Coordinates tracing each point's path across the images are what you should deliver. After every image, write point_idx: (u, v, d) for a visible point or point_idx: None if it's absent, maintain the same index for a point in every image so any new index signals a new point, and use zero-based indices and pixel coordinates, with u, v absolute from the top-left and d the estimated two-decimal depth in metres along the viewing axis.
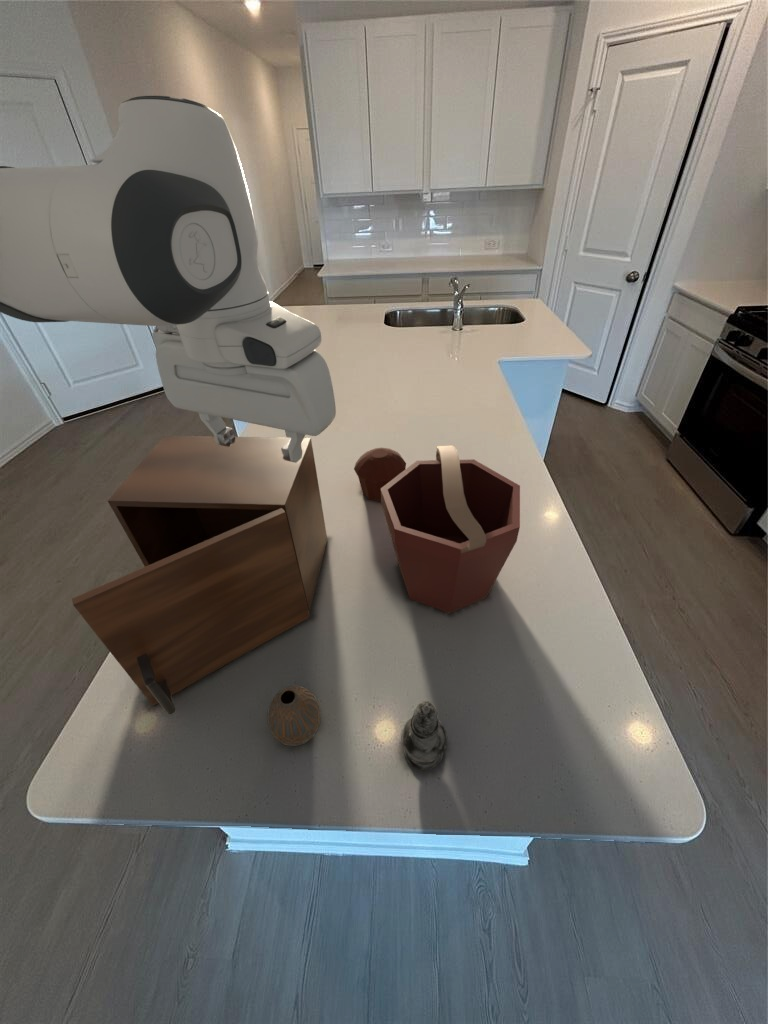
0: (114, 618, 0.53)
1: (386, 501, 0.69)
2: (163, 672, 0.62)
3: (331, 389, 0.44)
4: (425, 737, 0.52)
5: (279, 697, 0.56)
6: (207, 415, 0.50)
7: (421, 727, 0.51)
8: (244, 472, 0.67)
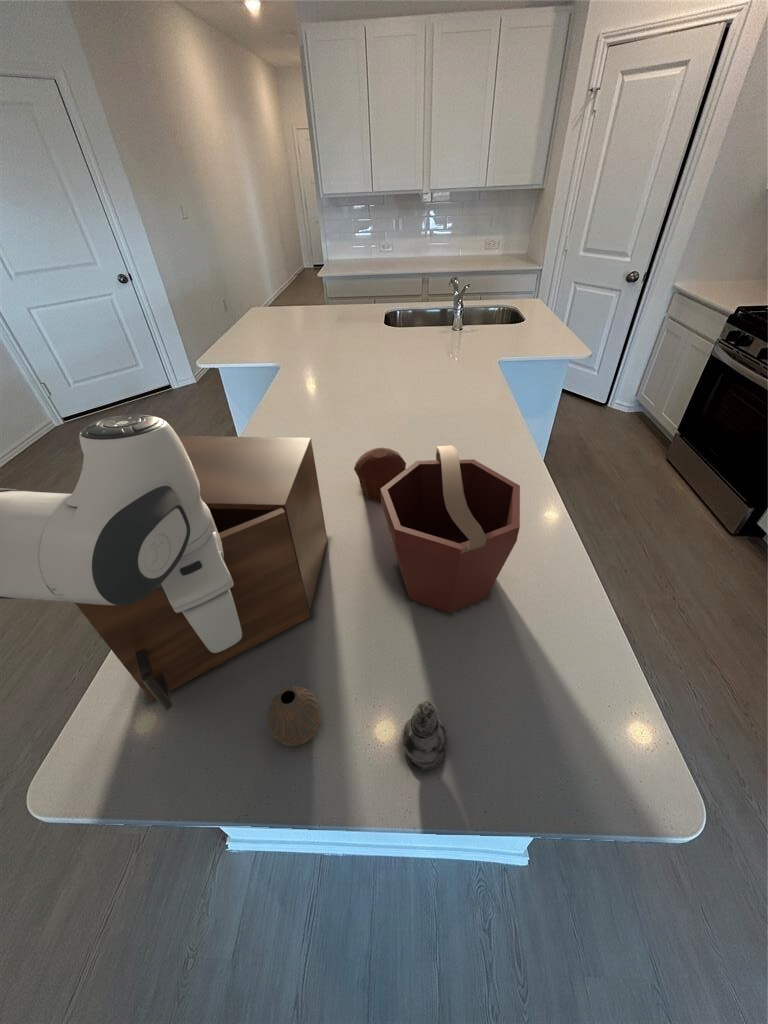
0: (112, 613, 0.53)
1: (386, 501, 0.69)
2: (162, 668, 0.62)
3: (235, 623, 0.49)
4: (425, 737, 0.52)
5: (279, 697, 0.56)
6: None
7: (421, 727, 0.51)
8: (244, 472, 0.67)
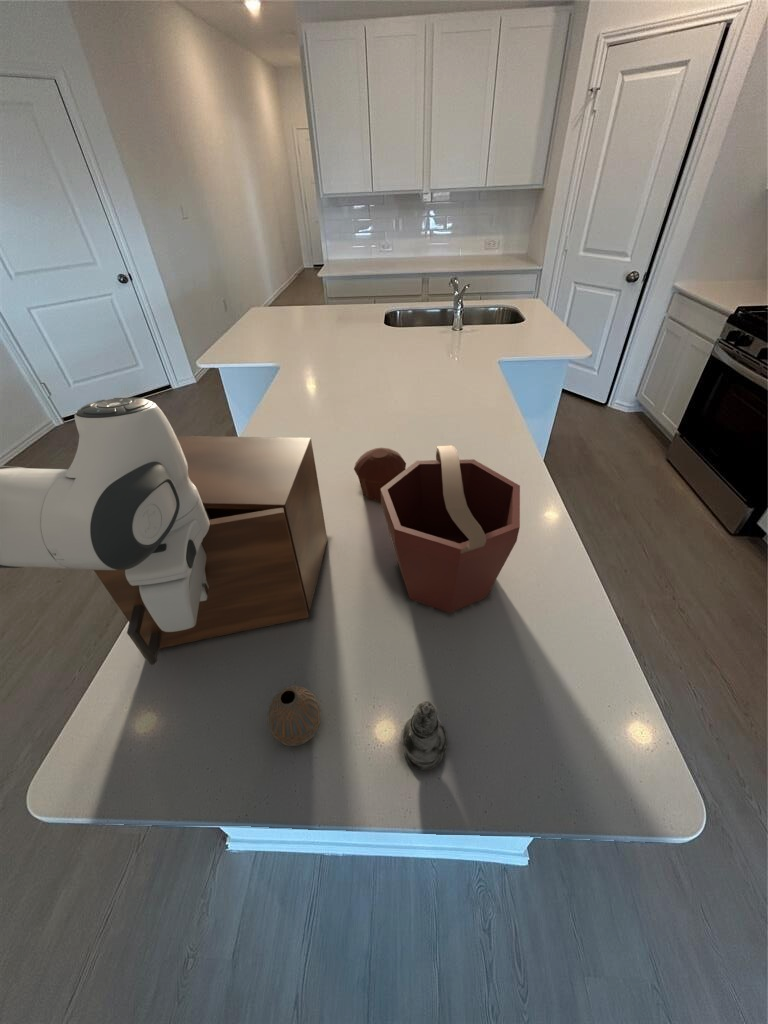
0: None
1: (386, 501, 0.69)
2: None
3: (184, 611, 0.50)
4: (425, 737, 0.52)
5: (279, 697, 0.56)
6: None
7: (421, 727, 0.51)
8: (244, 472, 0.67)
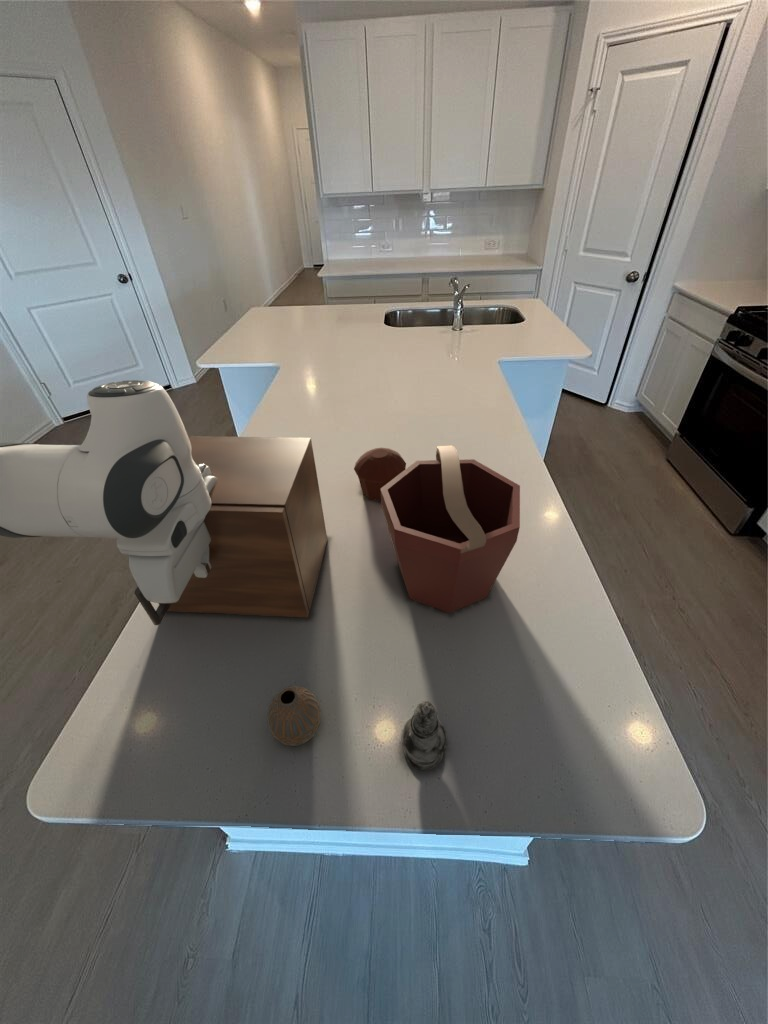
0: None
1: (386, 501, 0.69)
2: None
3: (165, 586, 0.53)
4: (425, 737, 0.52)
5: (279, 697, 0.56)
6: None
7: (421, 727, 0.51)
8: (244, 472, 0.67)
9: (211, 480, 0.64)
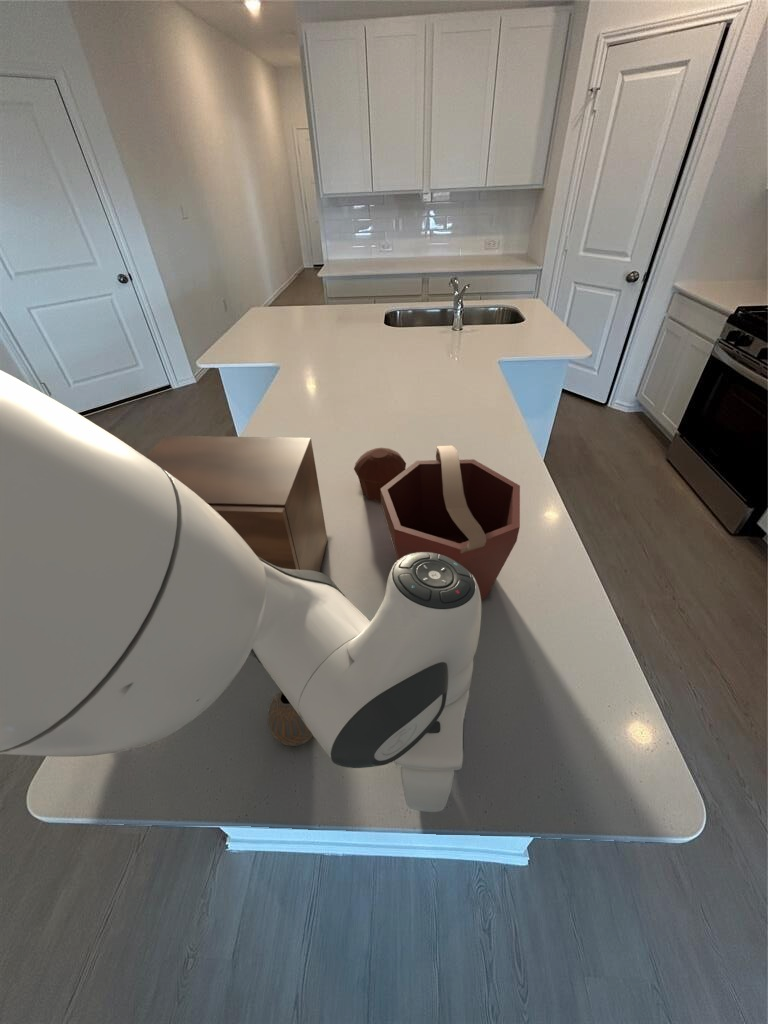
0: None
1: (386, 501, 0.69)
2: None
3: (443, 800, 0.42)
4: None
5: (279, 697, 0.56)
6: None
7: None
8: (244, 472, 0.67)
9: None
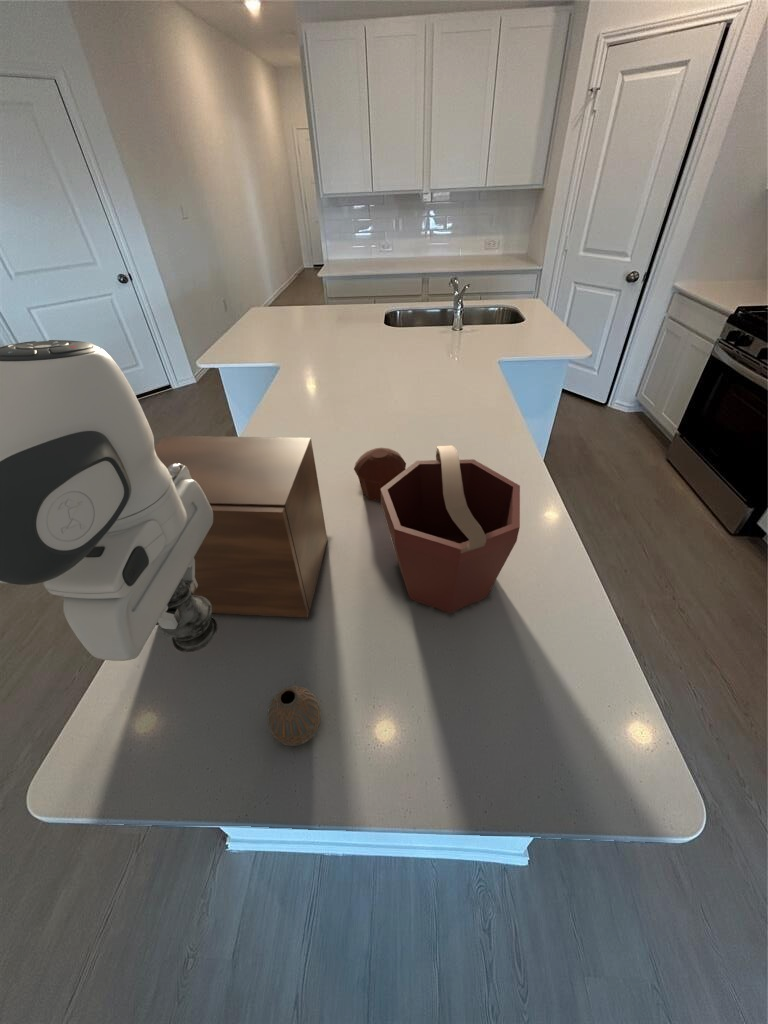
0: None
1: (386, 501, 0.69)
2: None
3: (117, 640, 0.37)
4: (168, 605, 0.47)
5: (279, 697, 0.56)
6: None
7: None
8: (244, 472, 0.67)
9: (189, 485, 0.48)
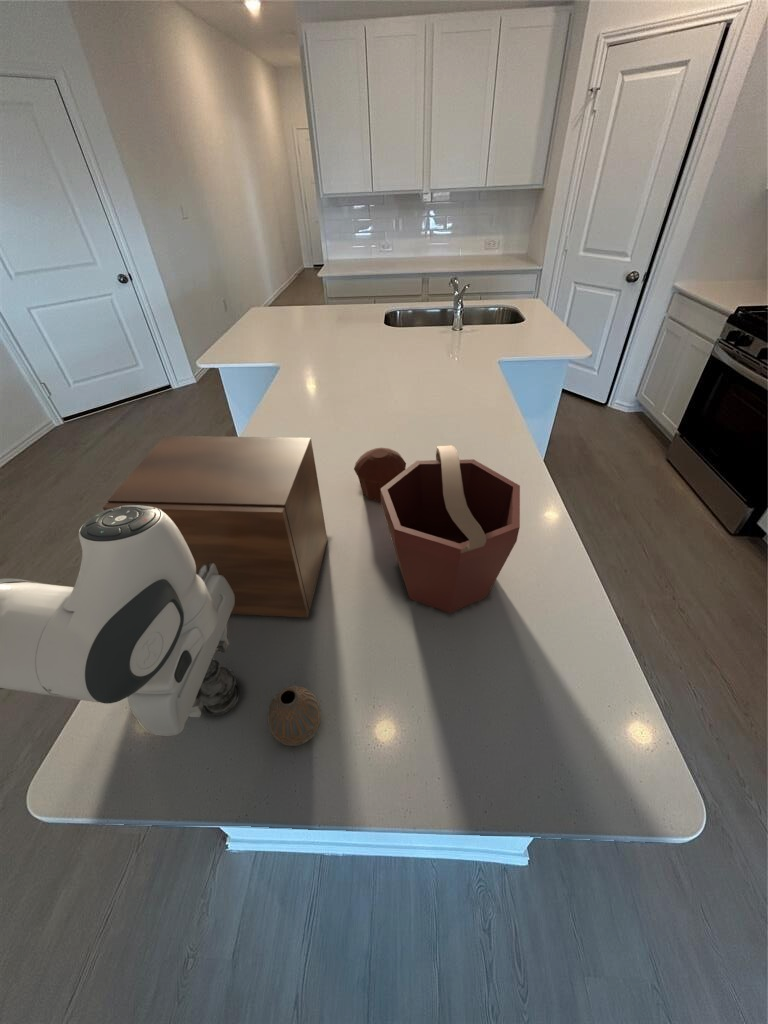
0: None
1: (386, 501, 0.69)
2: None
3: (168, 722, 0.48)
4: None
5: (279, 697, 0.56)
6: None
7: None
8: (244, 472, 0.67)
9: (217, 581, 0.59)
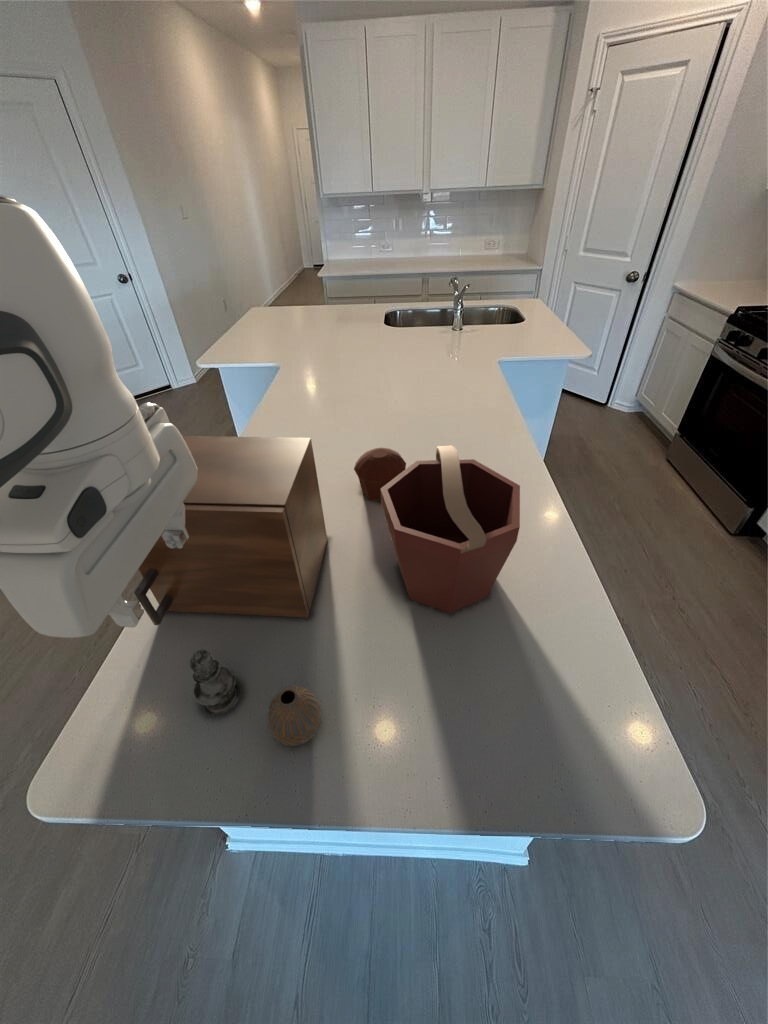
0: None
1: (386, 501, 0.69)
2: (170, 590, 0.73)
3: (63, 609, 0.29)
4: (202, 681, 0.59)
5: (279, 697, 0.56)
6: None
7: (194, 672, 0.58)
8: (244, 472, 0.67)
9: (166, 429, 0.39)
